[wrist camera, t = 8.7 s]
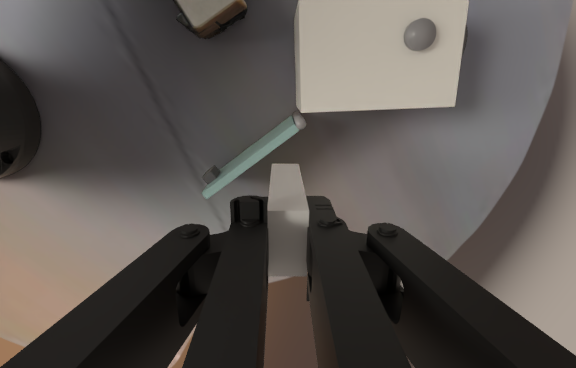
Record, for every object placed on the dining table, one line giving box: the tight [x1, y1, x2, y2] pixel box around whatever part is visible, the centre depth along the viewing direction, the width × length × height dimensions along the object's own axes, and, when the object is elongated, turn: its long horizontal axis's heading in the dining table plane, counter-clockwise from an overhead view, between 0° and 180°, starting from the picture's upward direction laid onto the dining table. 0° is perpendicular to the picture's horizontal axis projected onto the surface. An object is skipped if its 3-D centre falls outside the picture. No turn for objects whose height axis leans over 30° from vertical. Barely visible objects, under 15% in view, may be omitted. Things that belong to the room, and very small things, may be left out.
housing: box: [294, 0, 469, 113], centre depth 30 cm, size 15×9×9 cm, turn 92°
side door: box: [201, 111, 306, 199], centre depth 33 cm, size 12×2×8 cm, turn 127°
